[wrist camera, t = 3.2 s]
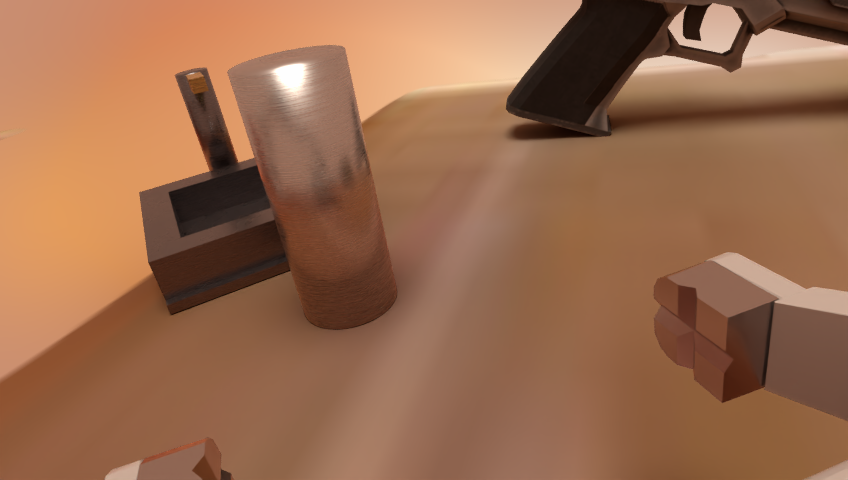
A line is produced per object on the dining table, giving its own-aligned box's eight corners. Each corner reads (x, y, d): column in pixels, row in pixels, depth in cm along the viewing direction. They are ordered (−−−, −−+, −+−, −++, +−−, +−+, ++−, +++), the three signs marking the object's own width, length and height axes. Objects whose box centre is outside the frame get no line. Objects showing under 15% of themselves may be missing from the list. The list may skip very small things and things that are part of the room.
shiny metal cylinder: (296, 335, 22) (212, 83, 17) (311, 280, 26) (243, 57, 21) (396, 320, 22) (339, 61, 17) (397, 267, 25) (349, 39, 21)
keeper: (171, 314, 25) (92, 144, 21) (153, 216, 35) (98, 91, 32) (375, 238, 28) (339, 79, 24) (303, 168, 39) (270, 50, 35)
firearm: (1034, 245, 33) (1293, -34, 25) (485, 110, 36) (554, -175, 28) (990, 213, 36) (1206, -42, 28) (493, 92, 39) (556, -167, 31)
